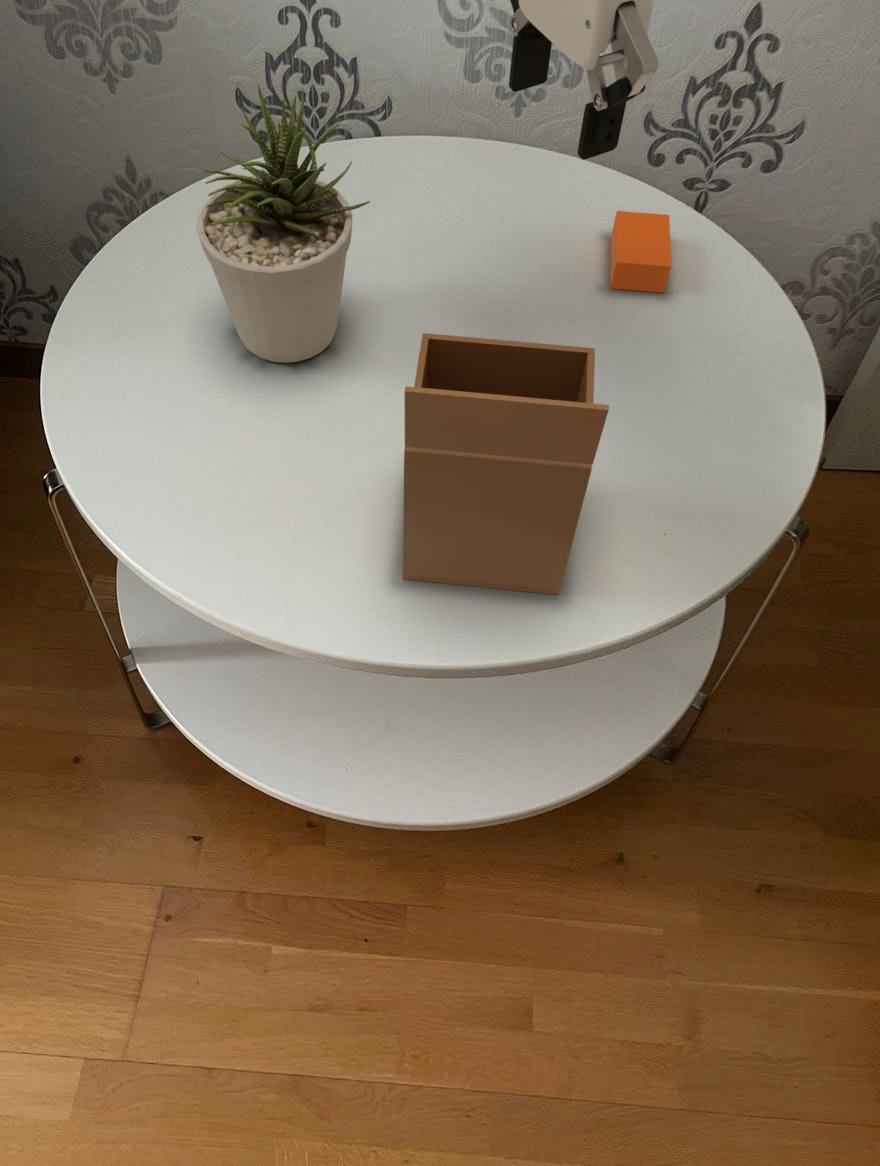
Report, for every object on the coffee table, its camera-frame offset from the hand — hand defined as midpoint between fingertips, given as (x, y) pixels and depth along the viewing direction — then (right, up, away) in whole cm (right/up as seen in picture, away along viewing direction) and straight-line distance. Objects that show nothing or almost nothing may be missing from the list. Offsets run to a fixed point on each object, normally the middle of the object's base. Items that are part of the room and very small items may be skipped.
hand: (561, 118), depth 75 cm
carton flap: (-6, -27, -15) cm, 31 cm away
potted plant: (-22, -12, +15) cm, 29 cm away
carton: (-5, -31, +3) cm, 32 cm away
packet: (+10, -4, +19) cm, 22 cm away
